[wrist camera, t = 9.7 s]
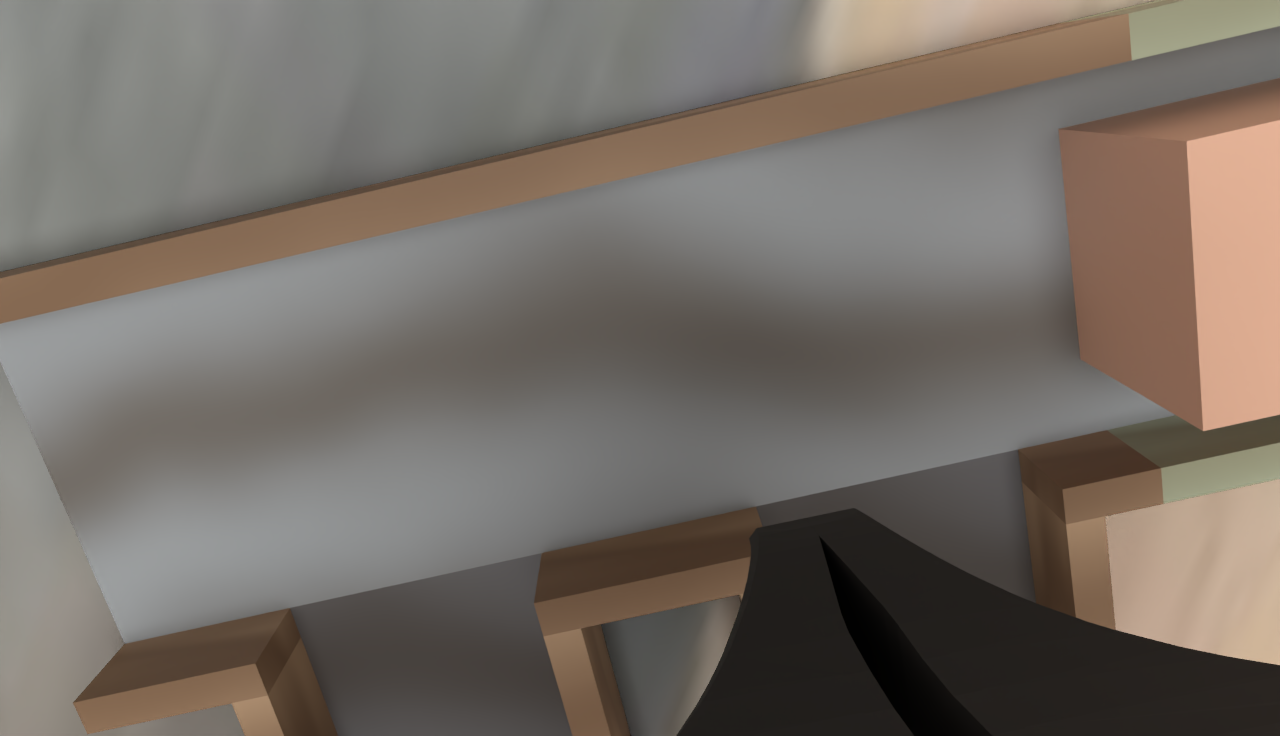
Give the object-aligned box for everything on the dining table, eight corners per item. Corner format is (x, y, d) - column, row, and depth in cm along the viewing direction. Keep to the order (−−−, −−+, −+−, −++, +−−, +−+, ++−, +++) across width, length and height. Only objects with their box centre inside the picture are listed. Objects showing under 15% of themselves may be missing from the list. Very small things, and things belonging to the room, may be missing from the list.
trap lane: (1352, 603, 23) (1445, 668, 21) (225, 838, 24) (178, 928, 22) (1346, -45, 19) (1463, -66, 16) (-20, 276, 20) (-114, 304, 17)
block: (1310, 308, 20) (1495, 367, 16) (1080, 359, 21) (1203, 431, 16) (1305, 72, 19) (1507, 68, 15) (1058, 128, 19) (1186, 140, 15)
